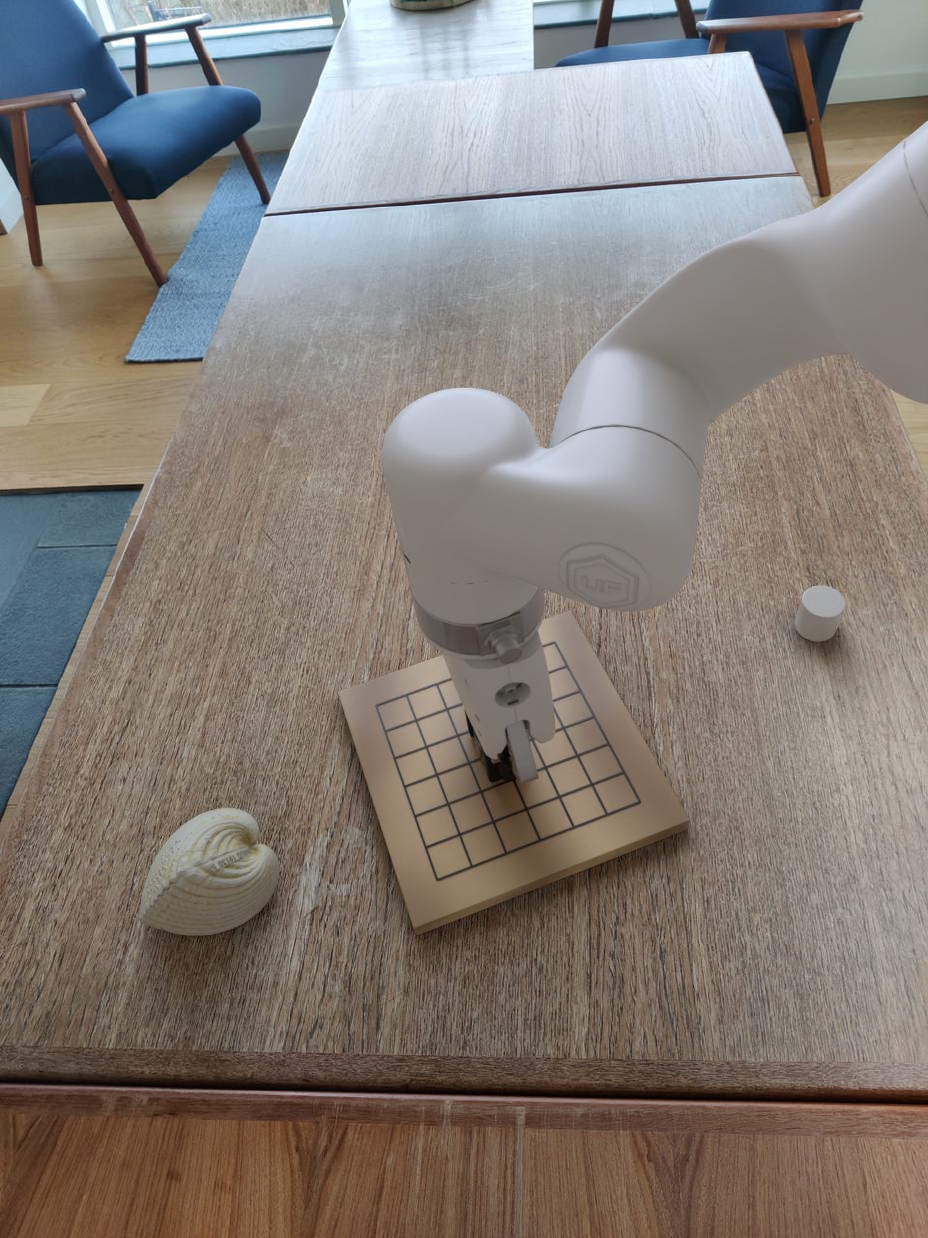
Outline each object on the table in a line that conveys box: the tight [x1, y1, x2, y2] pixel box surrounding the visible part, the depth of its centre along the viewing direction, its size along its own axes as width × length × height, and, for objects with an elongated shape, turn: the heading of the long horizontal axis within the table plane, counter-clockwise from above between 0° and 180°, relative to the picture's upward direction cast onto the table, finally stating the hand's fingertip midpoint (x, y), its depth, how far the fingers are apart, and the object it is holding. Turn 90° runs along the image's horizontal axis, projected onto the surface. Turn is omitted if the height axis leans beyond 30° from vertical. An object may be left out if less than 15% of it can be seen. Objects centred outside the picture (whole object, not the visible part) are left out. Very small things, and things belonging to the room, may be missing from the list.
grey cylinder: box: [793, 585, 847, 643], centre depth 69 cm, size 3×3×3 cm
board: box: [337, 609, 690, 936], centre depth 66 cm, size 20×20×2 cm
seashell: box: [138, 807, 280, 937], centre depth 60 cm, size 8×8×8 cm
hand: (499, 749), depth 65 cm, fingers closed on black stone, 3 cm apart
